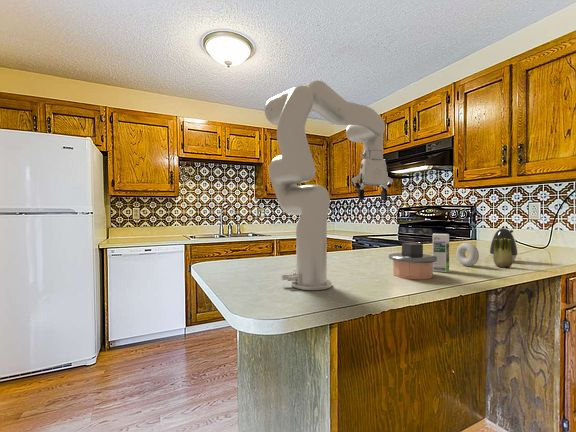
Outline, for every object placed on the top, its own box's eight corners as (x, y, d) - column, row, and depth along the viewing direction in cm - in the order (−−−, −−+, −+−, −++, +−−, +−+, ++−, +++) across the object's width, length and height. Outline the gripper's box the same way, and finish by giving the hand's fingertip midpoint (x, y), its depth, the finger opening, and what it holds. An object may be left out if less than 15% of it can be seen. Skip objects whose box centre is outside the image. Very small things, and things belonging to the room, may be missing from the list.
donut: (481, 268, 117) (481, 243, 117) (474, 268, 116) (474, 243, 116) (460, 263, 127) (460, 241, 127) (454, 264, 126) (454, 241, 126)
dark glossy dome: (523, 262, 129) (523, 228, 129) (505, 263, 127) (505, 229, 127) (501, 259, 139) (502, 227, 139) (484, 259, 137) (484, 228, 136)
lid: (407, 263, 95) (407, 247, 94) (380, 256, 110) (380, 242, 110) (447, 261, 98) (447, 245, 98) (416, 254, 114) (416, 240, 114)
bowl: (408, 280, 96) (408, 262, 96) (386, 272, 109) (386, 256, 109) (440, 278, 100) (440, 261, 100) (415, 270, 112) (415, 255, 112)
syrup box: (432, 271, 111) (432, 234, 111) (432, 268, 116) (432, 232, 116) (449, 272, 108) (449, 234, 108) (448, 270, 114) (448, 233, 113)
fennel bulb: (492, 266, 120) (492, 238, 120) (497, 265, 123) (498, 237, 122) (508, 269, 115) (508, 239, 115) (514, 267, 118) (514, 238, 117)
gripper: (357, 153, 108) (356, 199, 108) (398, 156, 112) (397, 200, 112) (348, 157, 115) (348, 200, 115) (387, 159, 119) (387, 201, 119)
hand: (372, 200), depth 113 cm, fingers open, 9 cm apart
